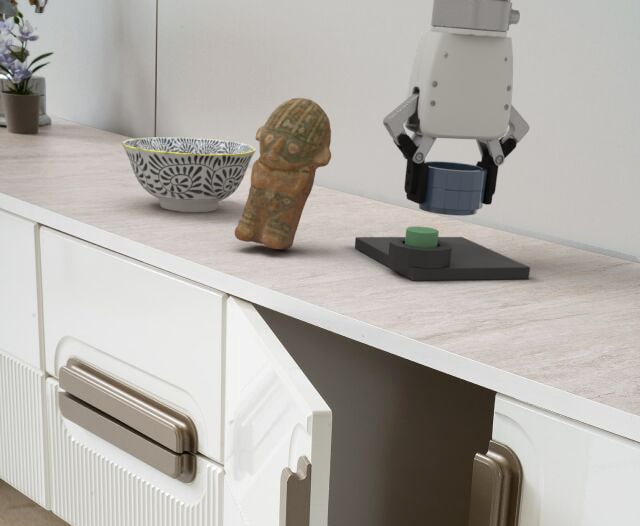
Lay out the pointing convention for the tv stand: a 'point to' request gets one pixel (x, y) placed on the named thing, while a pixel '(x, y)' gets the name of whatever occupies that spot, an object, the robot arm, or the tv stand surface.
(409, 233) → the button
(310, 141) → the figurine
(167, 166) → the bowl
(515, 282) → the tv stand surface
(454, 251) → the black flat block
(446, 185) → the small bowl
